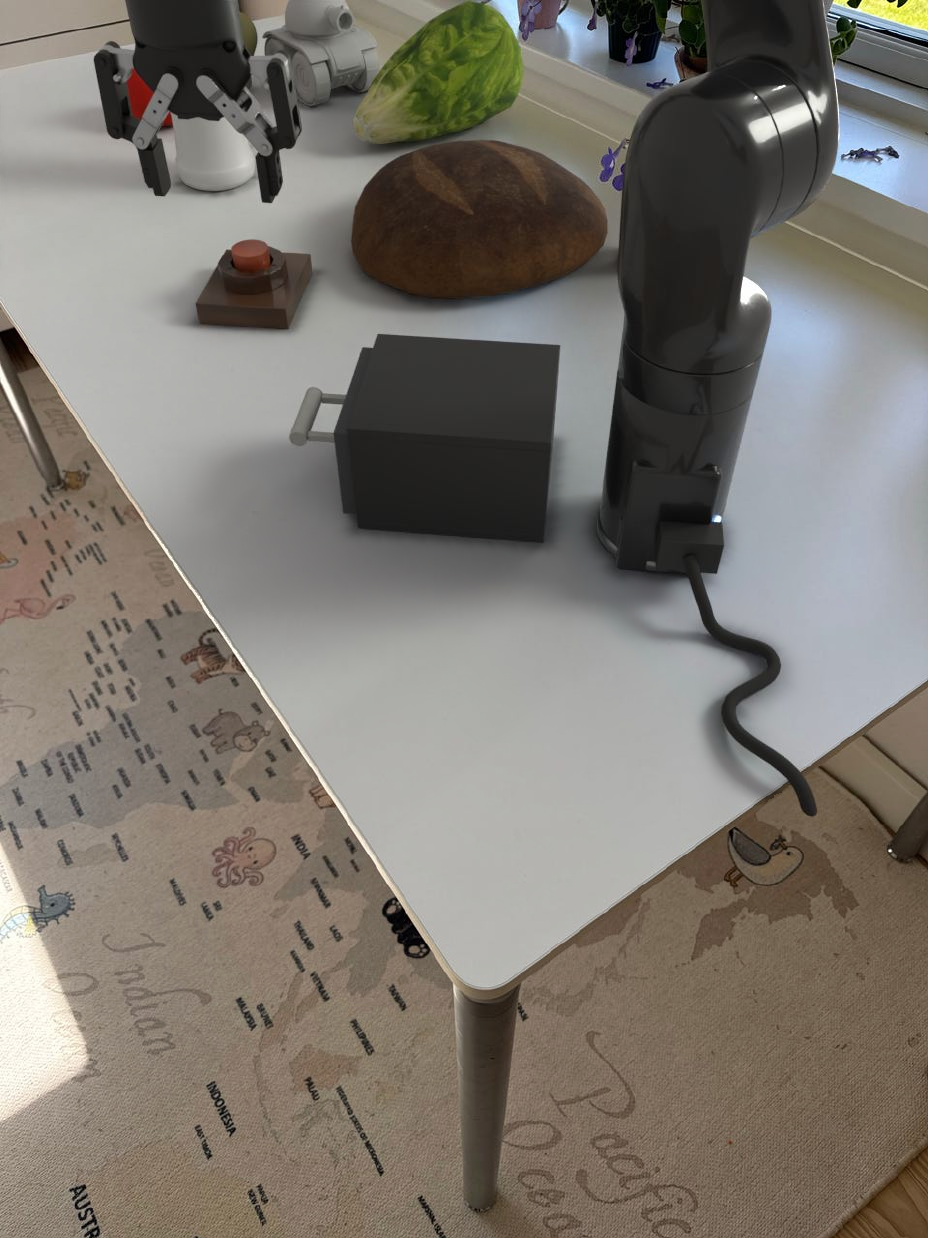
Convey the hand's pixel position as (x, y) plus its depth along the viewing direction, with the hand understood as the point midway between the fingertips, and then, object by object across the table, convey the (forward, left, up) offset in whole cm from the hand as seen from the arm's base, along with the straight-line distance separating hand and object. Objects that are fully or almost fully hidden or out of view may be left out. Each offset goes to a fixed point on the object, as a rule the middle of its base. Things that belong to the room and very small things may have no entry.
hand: (216, 195), depth 79 cm
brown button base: (+15, +3, -18) cm, 24 cm away
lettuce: (+58, -9, -18) cm, 62 cm away
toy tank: (+71, +8, -18) cm, 74 cm away
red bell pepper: (+58, +27, -18) cm, 67 cm away
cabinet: (-12, -21, -18) cm, 29 cm away
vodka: (+42, +15, -18) cm, 48 cm away
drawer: (-12, -17, -17) cm, 26 cm away
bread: (+29, -18, -18) cm, 39 cm away
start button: (+15, +3, -14) cm, 21 cm away
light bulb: (+69, +19, -18) cm, 74 cm away
